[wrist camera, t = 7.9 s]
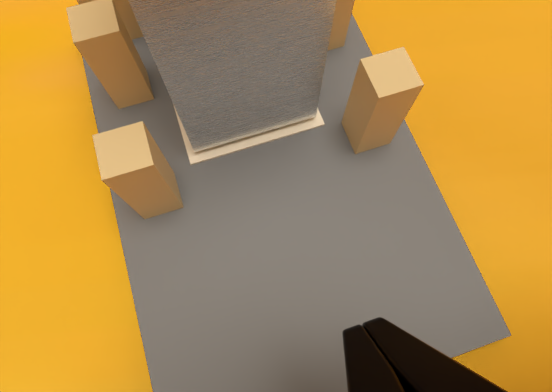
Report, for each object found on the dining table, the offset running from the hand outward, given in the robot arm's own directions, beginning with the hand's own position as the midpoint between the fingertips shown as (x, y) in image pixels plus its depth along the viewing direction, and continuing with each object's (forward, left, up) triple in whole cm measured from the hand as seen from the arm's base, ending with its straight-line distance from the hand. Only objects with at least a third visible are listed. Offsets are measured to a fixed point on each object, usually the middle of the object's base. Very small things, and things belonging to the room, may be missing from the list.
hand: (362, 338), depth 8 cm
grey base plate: (+6, +4, -7) cm, 9 cm away
